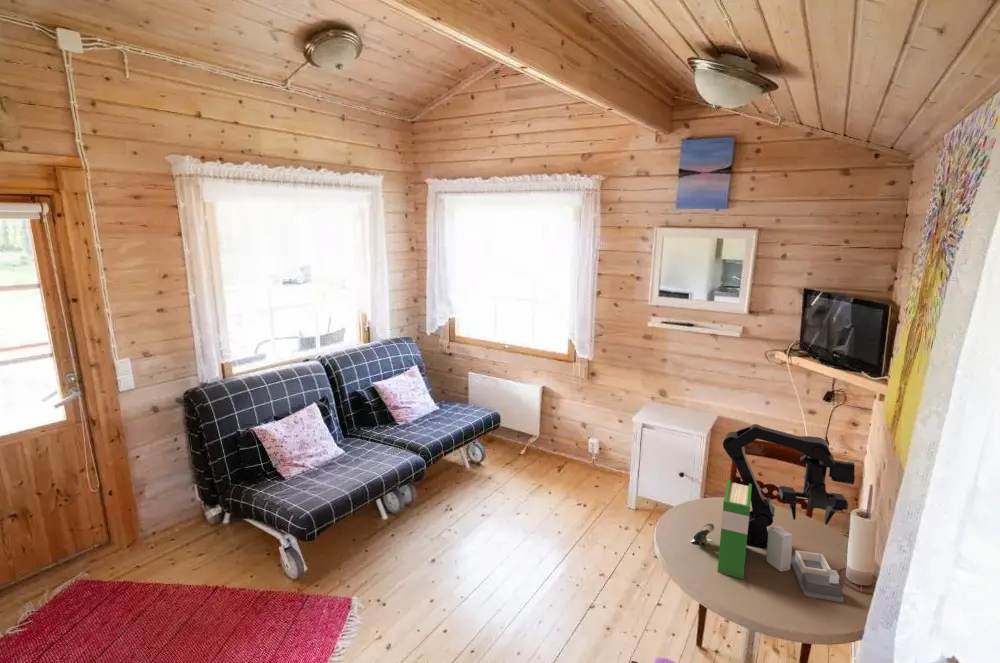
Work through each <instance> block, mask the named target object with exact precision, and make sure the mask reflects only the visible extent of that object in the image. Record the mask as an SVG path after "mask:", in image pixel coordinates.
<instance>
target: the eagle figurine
mask: <svg viewBox="0 0 1000 663" xmlns="http://www.w3.org/2000/svg"><path fill="white" fill-rule="evenodd" d="M714 530H715V524H713V523H707V524H705V525H704V526H703V527H702V528H701V530H700V531H698V532H696V533H695V535H694V536H693V538H692V539H691V541H690V543H694V542H698V546H699V547H700V548H702V547H703V546H705V544H706V543H707V544H708V543H714V541H713V540H712V539H709V538H707V535H708V534H710V533H711V532H713V531H714ZM699 547H696V549H698V548H699Z"/></svg>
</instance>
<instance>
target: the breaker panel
mask: <svg viewBox="0 0 1000 663" xmlns="http://www.w3.org/2000/svg"><path fill="white" fill-rule="evenodd" d="M791 566H792V569H793V572H794V574H795V577H796V579H797V581H798V584H799V586H800V589H801V591H802V593H803V596H804V597H808V598H809V597H810V598H816V599H820V600H826V601H833V602H839V603H844V597H843V596H842V592H843V587H842V585H841V583H840V582H839V583H838V585H835V584H829V583H828V581H827V579H826V572H827V569H831V570H832V568H831V567H830V565H829V563H828V562H827V560H826V558H825V555H824V554H823V553H817V552H811V551H805V550H797V549H795V550H794V554H791Z"/></svg>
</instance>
